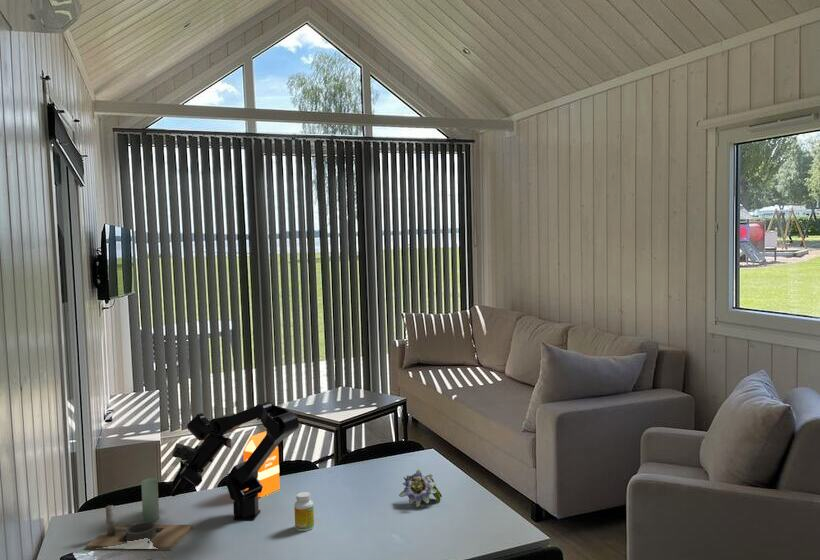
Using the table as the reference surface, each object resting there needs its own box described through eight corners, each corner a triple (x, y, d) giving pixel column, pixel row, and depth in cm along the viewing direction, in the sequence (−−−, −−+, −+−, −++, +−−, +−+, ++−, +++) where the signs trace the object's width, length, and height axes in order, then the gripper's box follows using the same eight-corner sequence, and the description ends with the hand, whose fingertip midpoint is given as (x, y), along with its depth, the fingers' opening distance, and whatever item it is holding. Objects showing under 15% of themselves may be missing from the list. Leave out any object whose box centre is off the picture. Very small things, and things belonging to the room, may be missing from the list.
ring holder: (193, 528, 184) (191, 497, 184) (170, 550, 170) (168, 517, 170) (114, 527, 186) (113, 497, 186) (86, 549, 172) (84, 516, 172)
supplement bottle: (310, 532, 179) (308, 498, 178) (292, 531, 180) (291, 497, 179) (316, 524, 184) (315, 491, 184) (299, 523, 185) (298, 490, 185)
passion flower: (418, 523, 195) (395, 496, 193) (416, 504, 206) (394, 477, 203) (448, 503, 194) (425, 475, 192) (444, 485, 205) (423, 458, 202)
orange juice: (280, 489, 213) (278, 431, 213) (261, 498, 206) (258, 437, 205) (263, 486, 218) (261, 428, 217) (244, 494, 210) (241, 434, 210)
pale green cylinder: (162, 516, 194) (160, 477, 193) (154, 522, 189) (152, 483, 189) (147, 516, 194) (146, 477, 194) (140, 522, 189) (138, 483, 189)
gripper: (187, 427, 203) (152, 466, 200) (188, 441, 186) (149, 484, 182) (214, 448, 206) (179, 486, 203) (217, 464, 189) (179, 507, 185)
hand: (171, 490), depth 193 cm, fingers open, 9 cm apart
